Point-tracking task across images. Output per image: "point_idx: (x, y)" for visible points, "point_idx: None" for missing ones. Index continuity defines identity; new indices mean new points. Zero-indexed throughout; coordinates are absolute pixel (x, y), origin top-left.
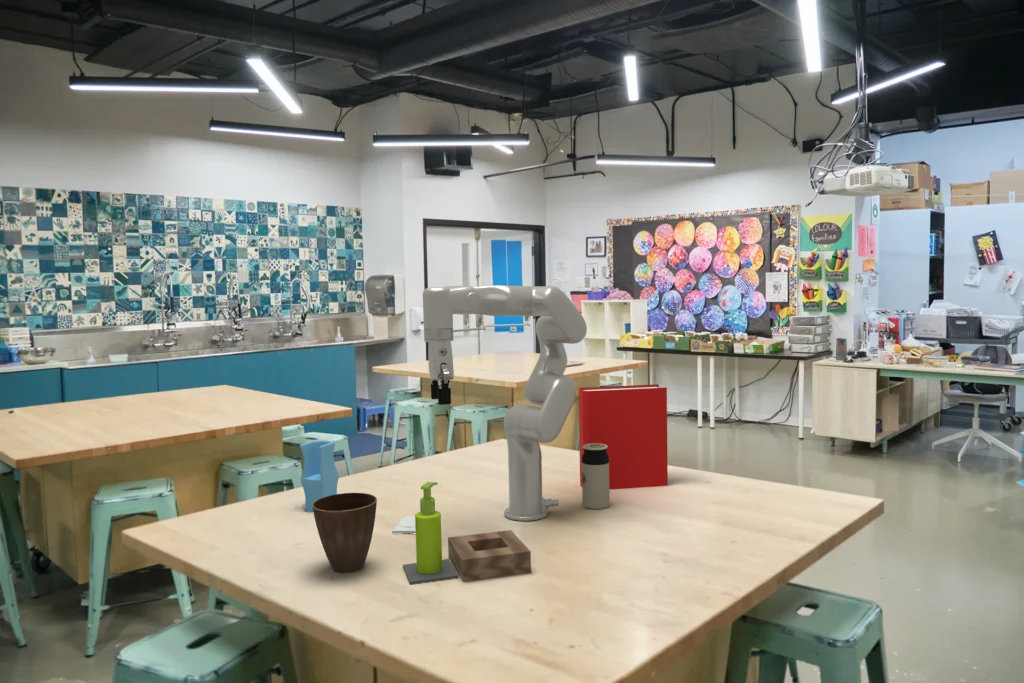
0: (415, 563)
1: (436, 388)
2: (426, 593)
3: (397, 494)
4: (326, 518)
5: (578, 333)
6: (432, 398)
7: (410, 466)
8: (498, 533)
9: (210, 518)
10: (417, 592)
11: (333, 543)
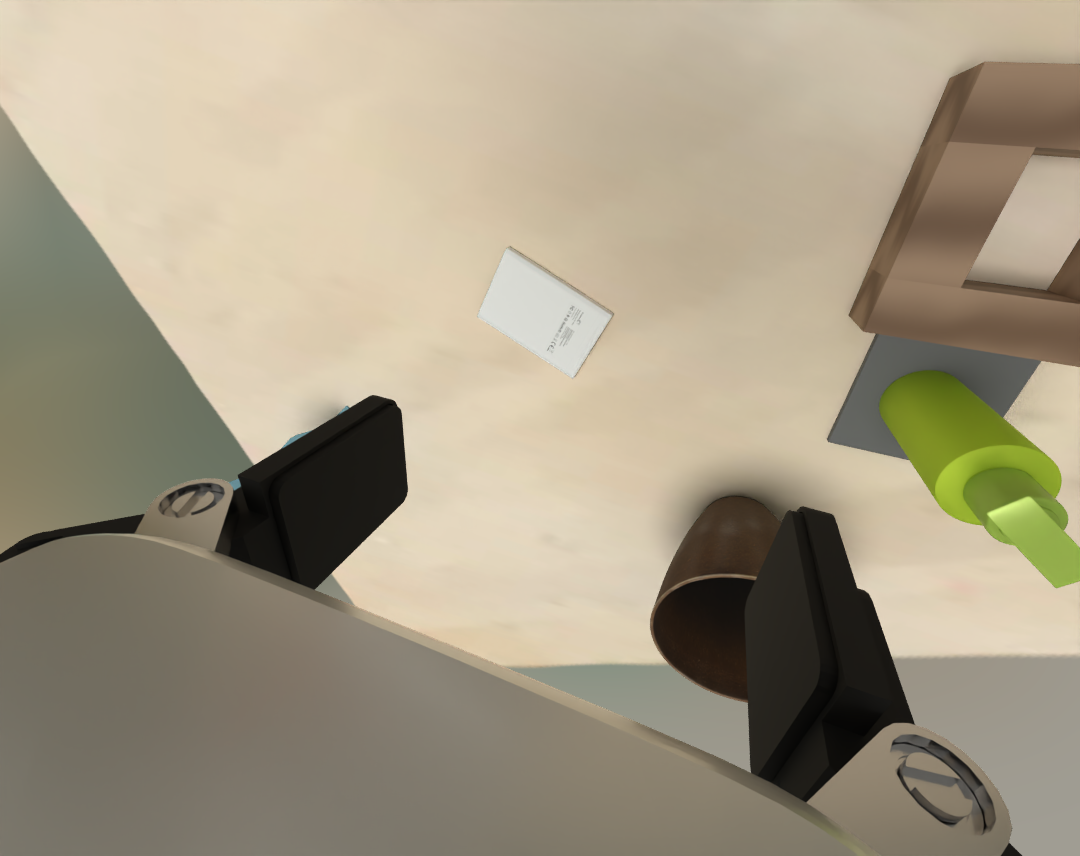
0: (844, 415)
1: (332, 524)
2: (1065, 461)
3: (284, 261)
4: None
5: None
6: (405, 497)
7: (55, 146)
8: (978, 138)
9: (368, 585)
10: None
11: None
